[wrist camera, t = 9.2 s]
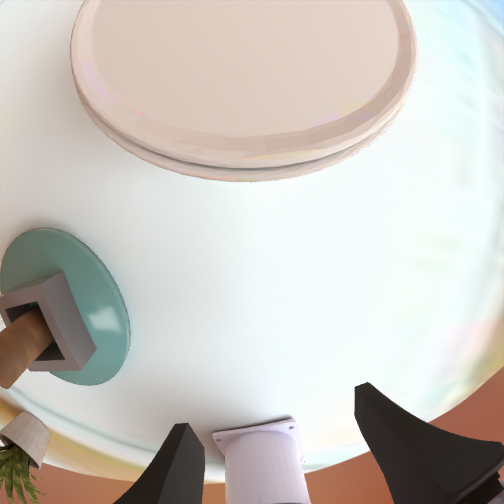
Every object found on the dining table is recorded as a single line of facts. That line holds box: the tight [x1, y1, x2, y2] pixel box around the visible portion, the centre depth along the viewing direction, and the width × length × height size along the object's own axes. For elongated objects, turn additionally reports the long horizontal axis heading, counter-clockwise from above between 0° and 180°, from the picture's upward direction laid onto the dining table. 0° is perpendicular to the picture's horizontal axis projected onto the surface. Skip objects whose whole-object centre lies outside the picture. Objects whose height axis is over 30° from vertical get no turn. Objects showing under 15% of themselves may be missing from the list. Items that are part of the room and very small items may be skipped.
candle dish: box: [0, 228, 130, 386], centre depth 16 cm, size 14×14×4 cm
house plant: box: [0, 411, 50, 504], centre depth 13 cm, size 14×14×16 cm
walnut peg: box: [0, 304, 55, 389], centre depth 13 cm, size 3×3×8 cm
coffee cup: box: [70, 0, 418, 182], centre depth 10 cm, size 9×9×12 cm
